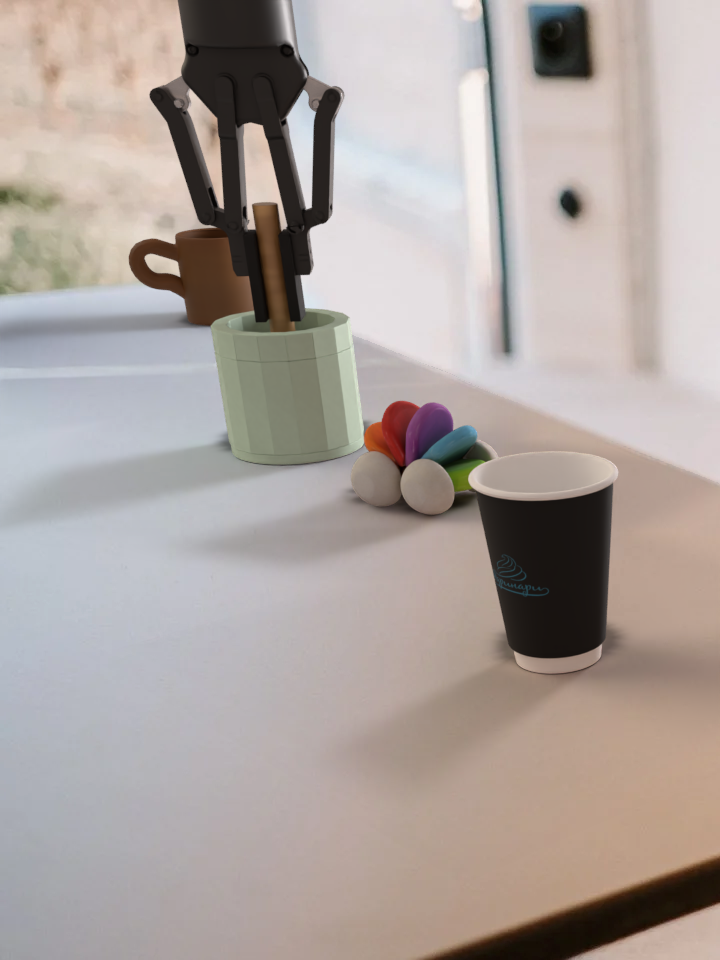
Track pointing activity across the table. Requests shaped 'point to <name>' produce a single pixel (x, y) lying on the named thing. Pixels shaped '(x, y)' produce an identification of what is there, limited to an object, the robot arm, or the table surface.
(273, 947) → the table surface
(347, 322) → the jar
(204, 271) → the mug
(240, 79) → the robot arm
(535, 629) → the dixie cup
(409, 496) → the rainbow petal wheeled toy
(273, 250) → the brush
